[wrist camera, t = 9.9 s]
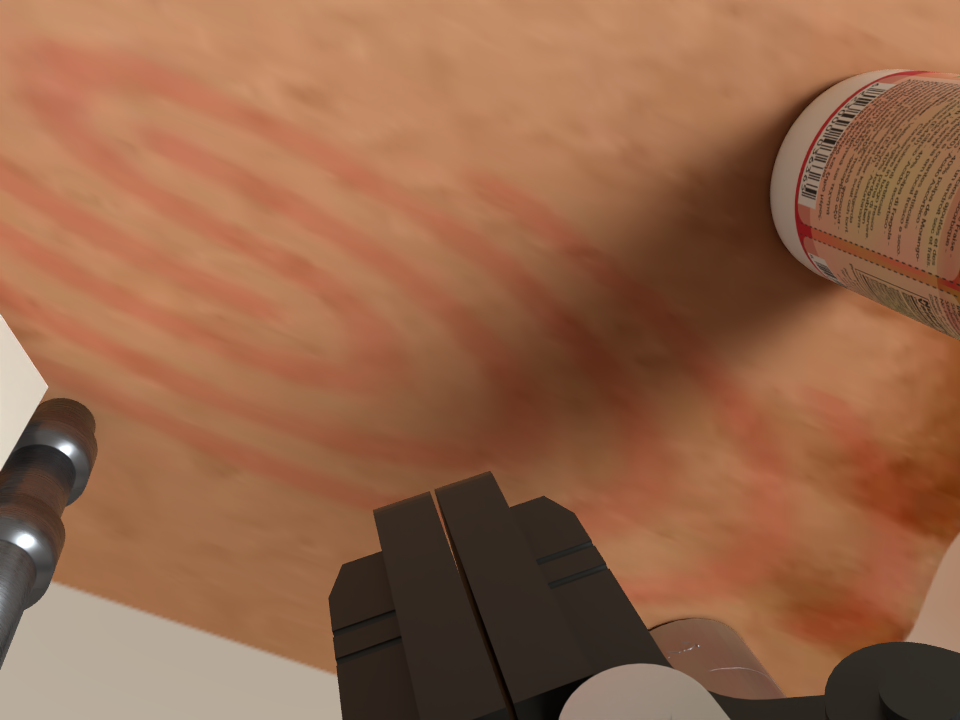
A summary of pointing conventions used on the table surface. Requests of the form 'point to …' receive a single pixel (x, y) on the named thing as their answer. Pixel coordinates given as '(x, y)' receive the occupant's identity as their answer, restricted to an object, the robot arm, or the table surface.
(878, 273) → the fruit juice
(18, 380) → the gate
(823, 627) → the table surface
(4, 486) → the gate post
